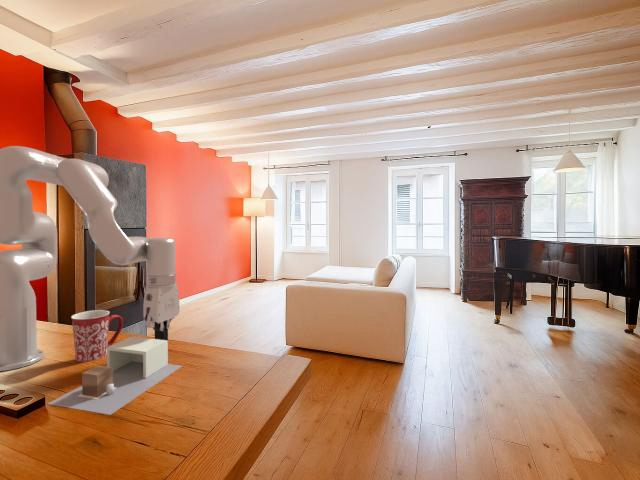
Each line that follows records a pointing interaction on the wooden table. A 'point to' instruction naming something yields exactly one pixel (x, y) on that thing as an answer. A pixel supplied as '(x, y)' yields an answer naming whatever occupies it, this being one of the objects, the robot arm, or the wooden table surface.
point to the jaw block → (96, 380)
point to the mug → (93, 334)
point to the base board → (116, 389)
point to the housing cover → (139, 354)
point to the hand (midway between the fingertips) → (161, 342)
